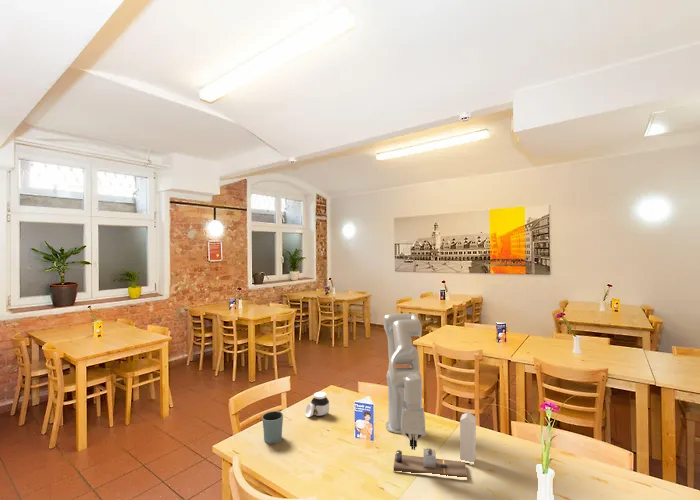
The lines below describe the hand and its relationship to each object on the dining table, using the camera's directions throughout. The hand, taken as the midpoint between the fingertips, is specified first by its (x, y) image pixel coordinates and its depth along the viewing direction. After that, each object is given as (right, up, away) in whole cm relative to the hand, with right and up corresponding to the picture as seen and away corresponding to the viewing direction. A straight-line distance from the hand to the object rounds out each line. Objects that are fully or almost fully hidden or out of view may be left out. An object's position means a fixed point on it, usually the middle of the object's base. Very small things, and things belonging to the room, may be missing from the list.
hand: (413, 448), depth 154 cm
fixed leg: (-6, -7, +2) cm, 9 cm away
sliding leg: (+7, -6, -1) cm, 9 cm away
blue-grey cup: (-66, -9, +23) cm, 70 cm away
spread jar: (-46, -9, +49) cm, 68 cm away
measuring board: (+7, -9, -1) cm, 11 cm away
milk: (+25, -9, +6) cm, 28 cm away
